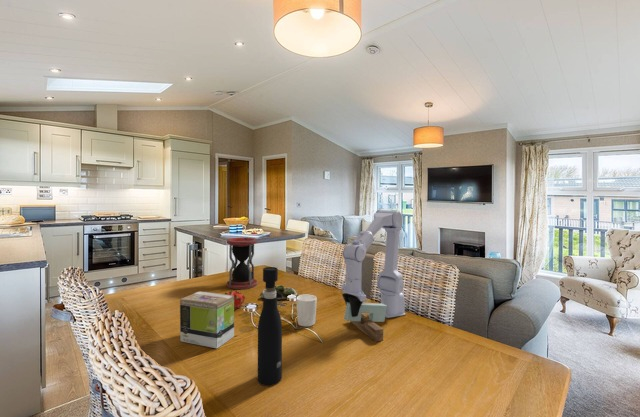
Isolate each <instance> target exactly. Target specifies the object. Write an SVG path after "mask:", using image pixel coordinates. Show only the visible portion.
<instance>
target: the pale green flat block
mask: <svg viewBox="0 0 640 417" xmlns="http://www.w3.org/2000/svg"><path fill="white" fill-rule="evenodd" d="M345 305H346V306H345V310H344V317H343V319H344V320H345V321H346V322H350V321H361V315H362V314H369V315H368V321H373V322H374V323H375V322H376V323H377V322H381V323H384V322H385V320H386V317H385V314H386V308H387V306H386V305H384V304H381V303H375V302H374V303H373V302H372V303H371V302H363V303H362V304H361V307H360V310H359V313H358V316H356V317H352V315H351V306H350V302H347V304H346V303H345Z"/></svg>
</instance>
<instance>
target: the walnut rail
mask: <svg viewBox="0 0 640 417" xmlns="http://www.w3.org/2000/svg"><path fill="white" fill-rule="evenodd" d="M349 322H350V323H351V324H353V325H354V326H355V327H357V328H358V330H360V331H361V332H363V334H365V335H367V336H368V337H369V338H370V339H372V340H373V341H374V343H375V342H377V343H378V342H381V341H384V328H383V327H381V326H380V325H379V324H377V322H376V323H375V322H373V321H371V320H367V316H366V315H364V313H362V315H361V321H349Z"/></svg>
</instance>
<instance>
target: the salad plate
mask: <svg viewBox="0 0 640 417" xmlns="http://www.w3.org/2000/svg"><path fill="white" fill-rule="evenodd" d="M265 290H266V289H263V290H262V294H261V295H260V298H262V299H263V297H264V292H265ZM275 290H276V296H277V302H280V301H281V302H286V301H288V300H287V296H288V295H291V294H296V295H297V296H298V293H297V292H296V290H295V289H294V288H292V287H284V286H283V285H278V284H275ZM285 300H286V301H285Z"/></svg>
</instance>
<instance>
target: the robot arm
mask: <svg viewBox="0 0 640 417" xmlns="http://www.w3.org/2000/svg"><path fill="white" fill-rule="evenodd" d="M402 227H403V215H402V213H401V211H400V210H393V209H391V210H389V209H377V210H376V211H375V212H374V214H373V220H372V221H371V223H370V224H369V225H368V227H367V228H366V230H361V231H360V232H359V234H358V235H357V236H356V237H355V238H354V239H353V241H352V242H351V243H348V244H346V245H345V246H344V247H343V251H342V252H341V253H342V254H341V255H342V257H343V260H344V264H345V282H344V283H342V284H341V290H342V294H341V295H342V298H343V300H344V302H345V305H346V304H347V302H350V306H351V315H352V317H356V316H358V313H359V310H360V307H361V304H362V303H364V302H367V295H366V294H365V293H364V291H363V289H362V272H363V270H362V269H363V267H362V266H363V265H362V264H363V261H364V260H365V257H366V254H367V252H368V248H370V246H371V245H372V244H373V242H374V239H375V238H374V236H375V235H377V233H378V232H379V231H380V230H381V229H383V230H384V231H385V232H386V238H385V239H386V241H385V253H384V254H385V255H384V268H383V269H382V270H381V271H380V272H379V273H378V278H377V280H376V285H377V286H376V287H377V289H378V290H379V292H380V293H381V294H380V295H381V296H380V304H384V305H386V306H387V308H386V314H385V319H389V318H396V317H401V316H406V313H405V311H406V310H405V309H406V308H405V307H406V304H405V302H406V301H405V300H406V298H405V295H404V293H403V290H404V287H405V286H404V276H403V274H402V273H401V272H399V271H398V259H399V246H400V245H399V244H400V231H402Z"/></svg>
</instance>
